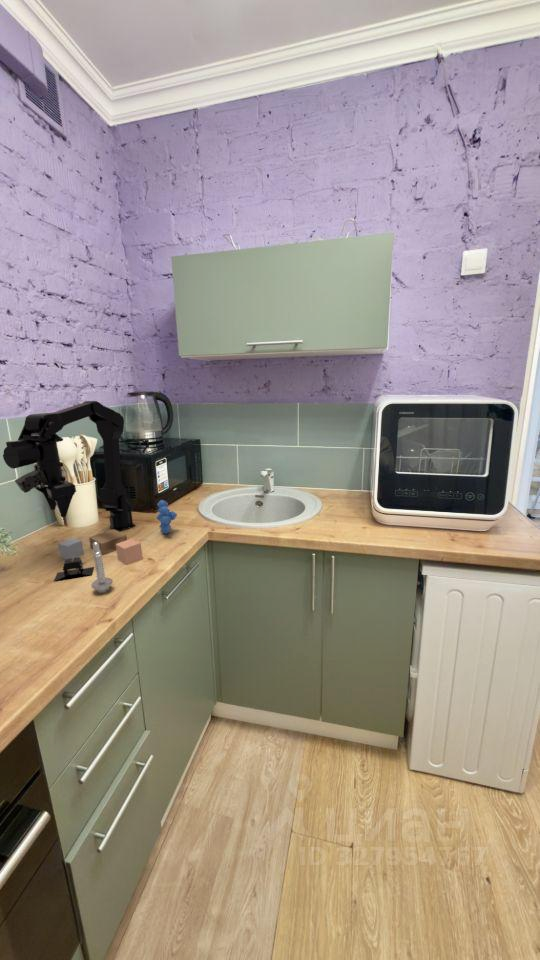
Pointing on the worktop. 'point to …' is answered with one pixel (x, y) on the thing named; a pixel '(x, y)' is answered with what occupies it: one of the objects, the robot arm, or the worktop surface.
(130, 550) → the terracotta cube
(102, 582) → the screw
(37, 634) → the worktop surface
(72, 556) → the slate cube
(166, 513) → the grapes
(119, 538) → the walnut block
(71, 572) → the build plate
